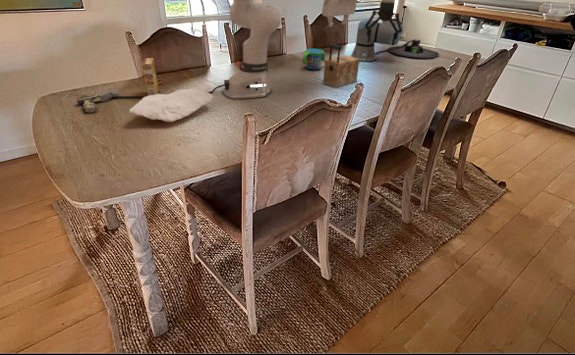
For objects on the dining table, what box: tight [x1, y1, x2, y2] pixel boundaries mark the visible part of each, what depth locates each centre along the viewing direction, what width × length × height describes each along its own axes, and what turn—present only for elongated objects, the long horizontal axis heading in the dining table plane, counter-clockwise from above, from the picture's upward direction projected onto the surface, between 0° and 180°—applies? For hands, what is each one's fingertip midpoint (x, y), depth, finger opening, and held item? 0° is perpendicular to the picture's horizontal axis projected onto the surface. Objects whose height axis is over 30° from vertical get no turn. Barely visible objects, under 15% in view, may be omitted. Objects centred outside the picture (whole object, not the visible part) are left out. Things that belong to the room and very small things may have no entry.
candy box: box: [141, 57, 160, 96], centre depth 163 cm, size 9×4×15 cm, turn 13°
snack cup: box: [302, 48, 326, 71], centre depth 209 cm, size 16×10×10 cm
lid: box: [323, 43, 360, 67], centre depth 184 cm, size 17×9×10 cm, turn 132°
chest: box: [322, 61, 360, 88], centre depth 190 cm, size 17×9×10 cm, turn 132°
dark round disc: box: [386, 38, 439, 59], centre depth 252 cm, size 35×35×9 cm
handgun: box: [76, 89, 120, 114], centre depth 155 cm, size 3×18×15 cm
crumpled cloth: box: [129, 88, 214, 123], centre depth 147 cm, size 24×35×9 cm
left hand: (337, 25), depth 173 cm, fingers open, 8 cm apart
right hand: (380, 43), depth 203 cm, fingers open, 13 cm apart
